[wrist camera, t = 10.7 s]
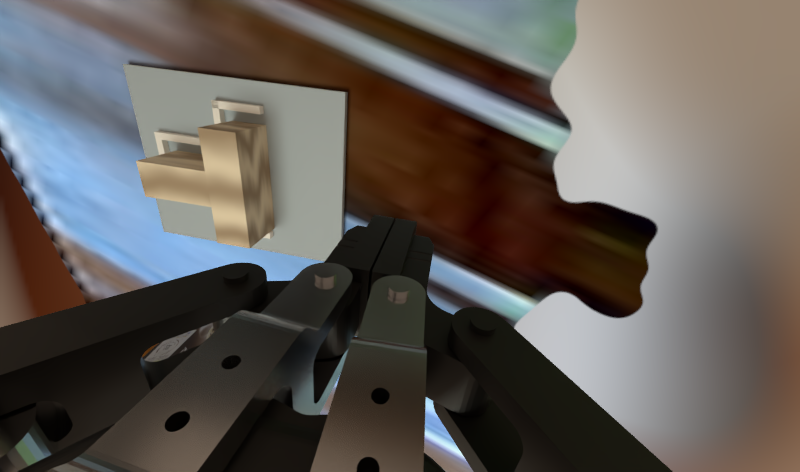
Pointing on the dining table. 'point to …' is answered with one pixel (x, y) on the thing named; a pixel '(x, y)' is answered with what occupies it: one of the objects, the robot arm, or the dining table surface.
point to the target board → (287, 147)
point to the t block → (220, 180)
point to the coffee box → (179, 343)
